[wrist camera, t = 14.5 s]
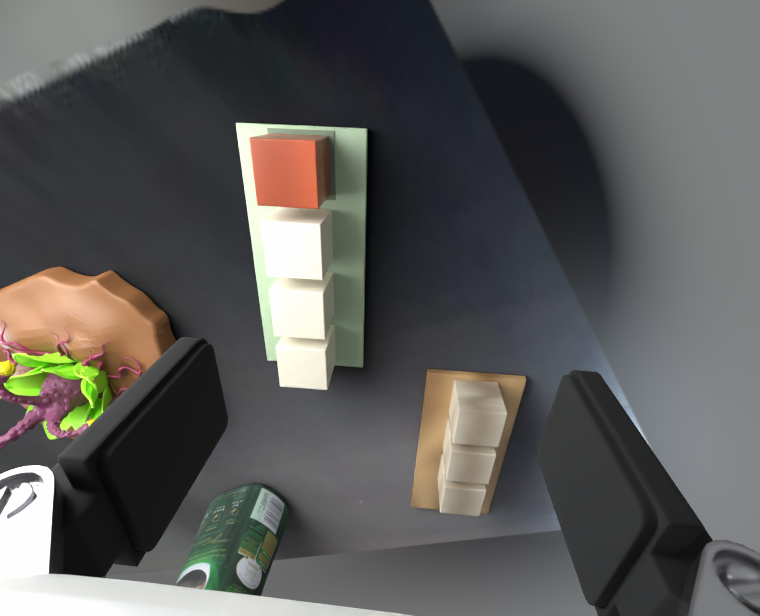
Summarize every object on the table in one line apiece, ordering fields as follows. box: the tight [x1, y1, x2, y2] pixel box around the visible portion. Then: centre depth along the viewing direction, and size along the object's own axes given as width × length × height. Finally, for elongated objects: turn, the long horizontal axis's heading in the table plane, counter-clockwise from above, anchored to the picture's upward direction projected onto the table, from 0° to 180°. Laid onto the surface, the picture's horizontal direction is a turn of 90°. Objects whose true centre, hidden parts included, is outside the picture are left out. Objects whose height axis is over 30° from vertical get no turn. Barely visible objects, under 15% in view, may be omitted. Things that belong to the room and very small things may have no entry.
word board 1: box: [236, 123, 368, 390], centre depth 28 cm, size 9×20×5 cm, turn 178°
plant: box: [0, 267, 176, 449], centre depth 32 cm, size 20×20×11 cm
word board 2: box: [411, 369, 526, 516], centre depth 37 cm, size 9×20×5 cm, turn 178°
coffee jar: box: [175, 484, 289, 596], centre depth 39 cm, size 10×8×19 cm
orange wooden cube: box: [249, 133, 330, 209], centre depth 25 cm, size 4×4×4 cm
